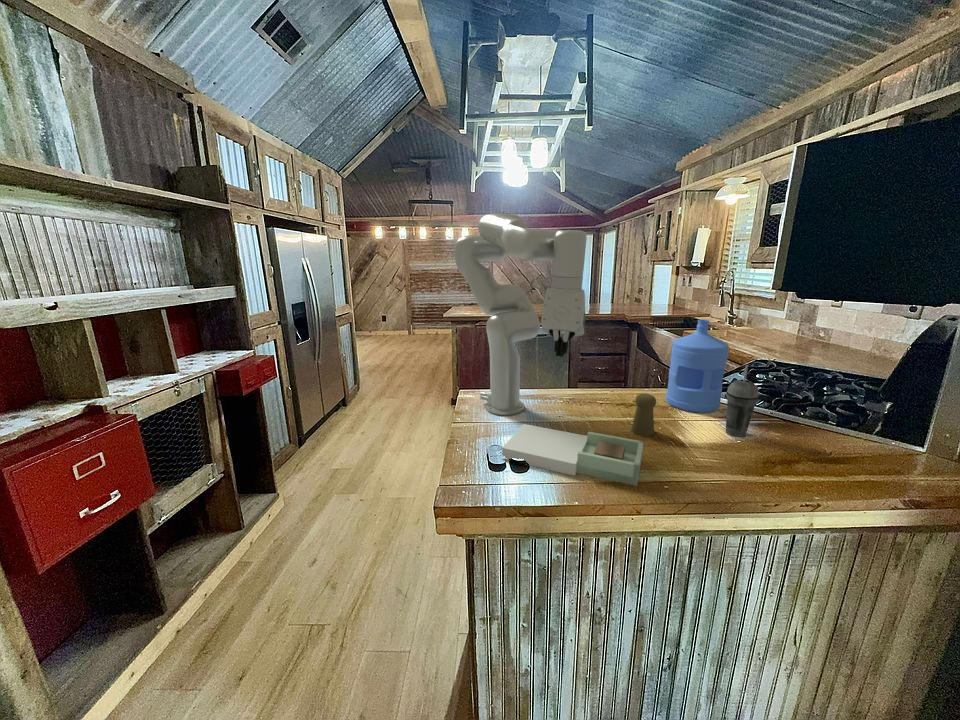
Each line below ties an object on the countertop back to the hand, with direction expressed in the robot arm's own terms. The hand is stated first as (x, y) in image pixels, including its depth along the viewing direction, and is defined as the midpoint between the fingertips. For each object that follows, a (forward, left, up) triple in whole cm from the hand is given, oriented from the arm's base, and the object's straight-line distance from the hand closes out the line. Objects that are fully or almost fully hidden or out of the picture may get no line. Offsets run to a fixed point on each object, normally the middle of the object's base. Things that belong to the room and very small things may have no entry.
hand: (560, 355), depth 98 cm
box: (+15, -9, -23) cm, 29 cm away
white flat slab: (0, -9, -23) cm, 25 cm away
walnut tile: (+15, -10, -21) cm, 28 cm away
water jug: (+34, +41, -24) cm, 58 cm away
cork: (+21, +13, -24) cm, 34 cm away
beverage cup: (+44, +22, -24) cm, 54 cm away
